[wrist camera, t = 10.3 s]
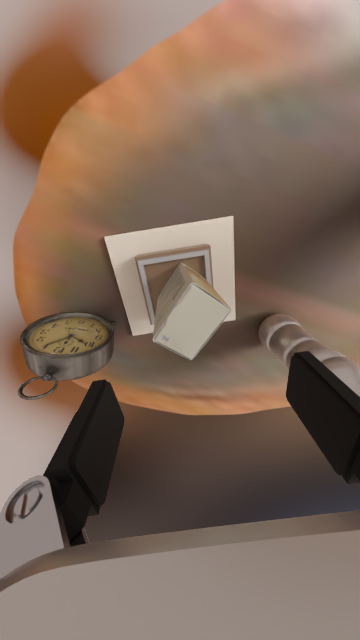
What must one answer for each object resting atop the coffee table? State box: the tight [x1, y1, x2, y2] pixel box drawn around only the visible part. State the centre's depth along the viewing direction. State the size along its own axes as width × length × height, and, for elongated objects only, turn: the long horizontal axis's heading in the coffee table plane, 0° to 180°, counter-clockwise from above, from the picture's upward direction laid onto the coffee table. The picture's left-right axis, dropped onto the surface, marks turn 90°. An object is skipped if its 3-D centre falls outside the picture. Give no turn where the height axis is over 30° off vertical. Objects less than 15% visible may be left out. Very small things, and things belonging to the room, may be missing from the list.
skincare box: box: [152, 262, 232, 360], centre depth 22 cm, size 6×4×12 cm
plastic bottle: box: [258, 314, 360, 397], centre depth 26 cm, size 6×7×20 cm
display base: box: [104, 216, 236, 336], centre depth 29 cm, size 18×16×5 cm
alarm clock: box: [18, 312, 116, 400], centre depth 26 cm, size 11×5×16 cm, turn 79°
